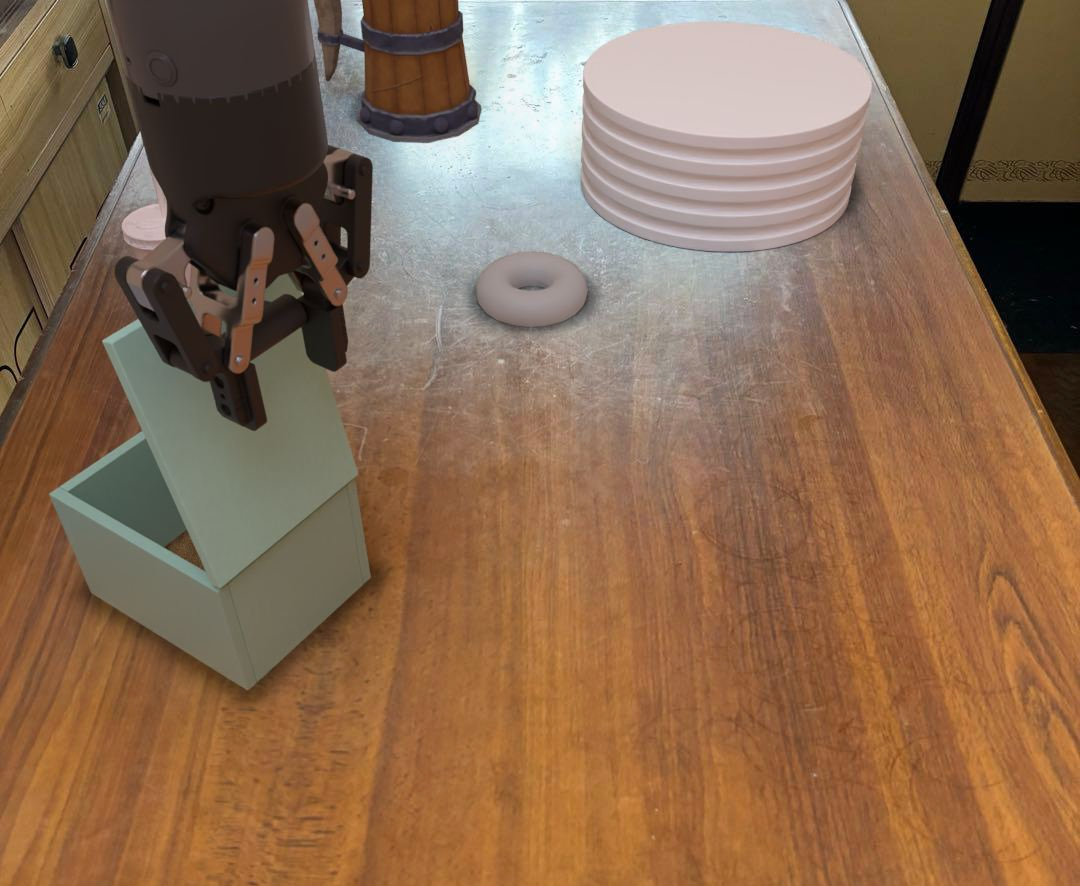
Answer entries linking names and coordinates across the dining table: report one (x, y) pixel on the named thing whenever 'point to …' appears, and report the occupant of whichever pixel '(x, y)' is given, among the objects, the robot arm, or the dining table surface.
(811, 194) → the plate stack
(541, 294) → the donut
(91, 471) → the cooler
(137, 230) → the smoothie
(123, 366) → the lid
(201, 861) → the dining table surface
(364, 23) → the mug
